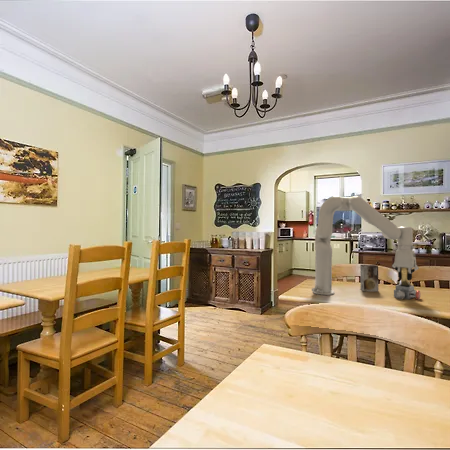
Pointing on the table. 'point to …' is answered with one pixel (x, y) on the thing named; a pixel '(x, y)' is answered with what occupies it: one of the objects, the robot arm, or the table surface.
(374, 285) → the coffee box
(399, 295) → the valve body
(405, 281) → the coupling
